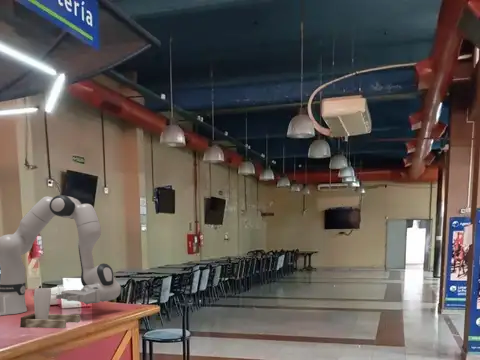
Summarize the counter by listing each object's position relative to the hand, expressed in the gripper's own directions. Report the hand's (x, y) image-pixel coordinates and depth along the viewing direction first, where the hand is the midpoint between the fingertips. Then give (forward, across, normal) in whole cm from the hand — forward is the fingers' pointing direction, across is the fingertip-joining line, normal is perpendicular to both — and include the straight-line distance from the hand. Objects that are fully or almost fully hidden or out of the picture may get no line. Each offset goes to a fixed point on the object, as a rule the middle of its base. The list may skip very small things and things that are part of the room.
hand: (62, 297), depth 205 cm
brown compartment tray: (+7, +3, +10) cm, 13 cm away
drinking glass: (+9, -1, +10) cm, 14 cm away
